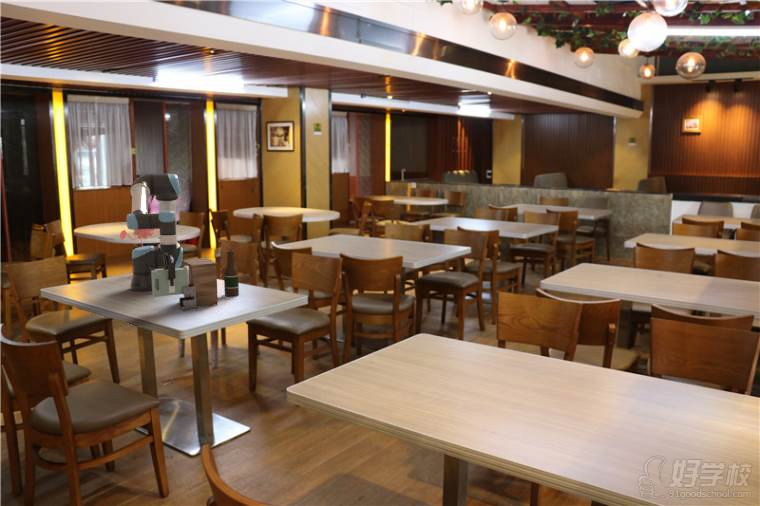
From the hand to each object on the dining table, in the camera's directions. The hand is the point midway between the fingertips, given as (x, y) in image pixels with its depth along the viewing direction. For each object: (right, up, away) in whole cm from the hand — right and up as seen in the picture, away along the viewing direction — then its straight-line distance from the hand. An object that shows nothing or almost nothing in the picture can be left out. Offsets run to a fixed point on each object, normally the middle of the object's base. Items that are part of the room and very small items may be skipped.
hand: (170, 291), depth 309 cm
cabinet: (+10, -7, +18) cm, 21 cm away
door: (0, -1, 0) cm, 1 cm away
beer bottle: (+21, -4, +35) cm, 41 cm away
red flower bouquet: (-42, +4, +83) cm, 93 cm away
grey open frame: (+7, -9, +6) cm, 12 cm away
